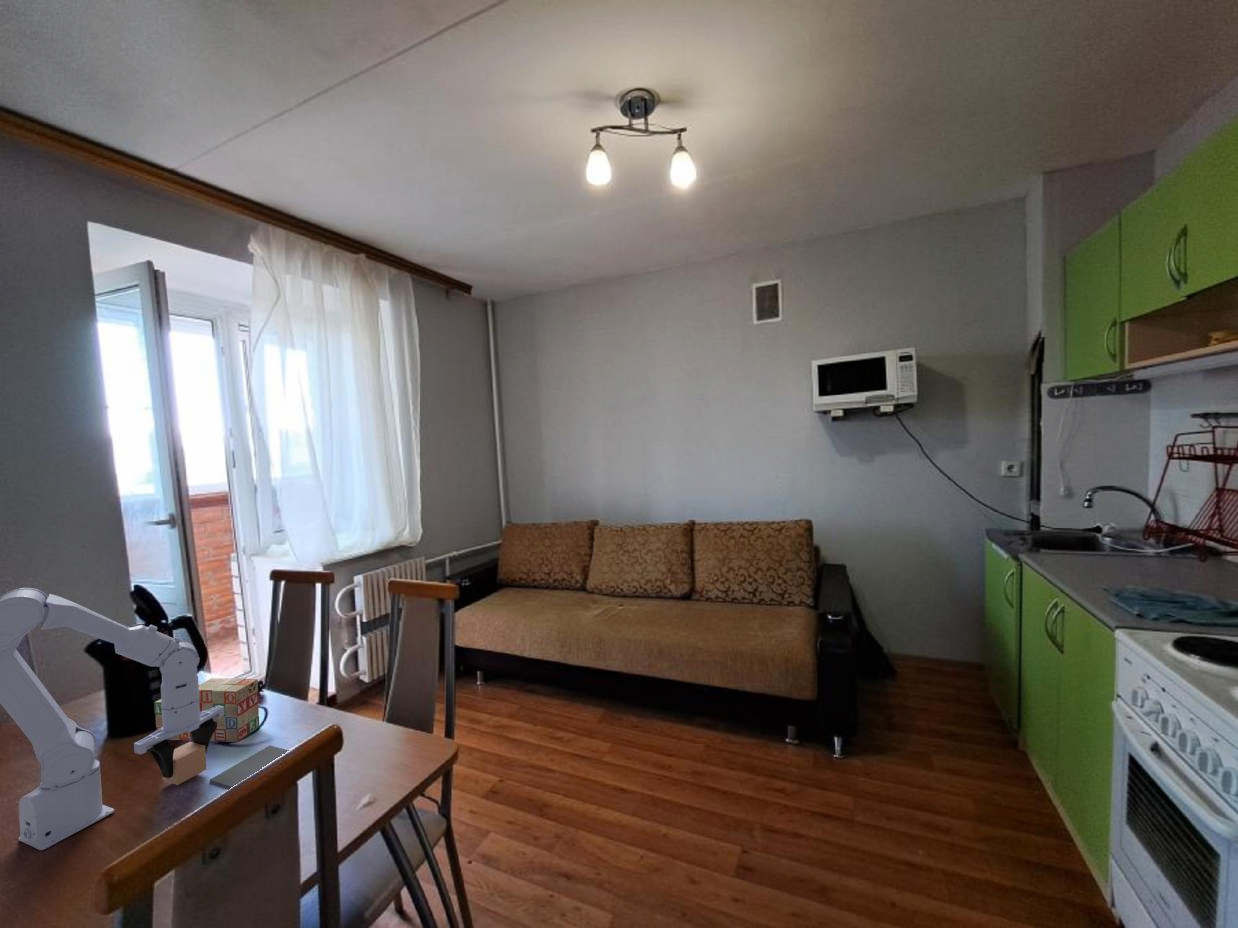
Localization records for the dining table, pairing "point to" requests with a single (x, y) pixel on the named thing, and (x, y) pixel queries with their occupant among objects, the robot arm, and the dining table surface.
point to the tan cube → (187, 762)
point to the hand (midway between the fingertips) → (184, 767)
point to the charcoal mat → (247, 767)
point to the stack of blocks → (225, 708)
